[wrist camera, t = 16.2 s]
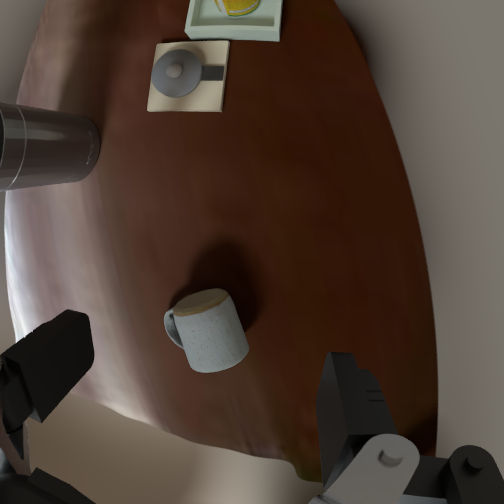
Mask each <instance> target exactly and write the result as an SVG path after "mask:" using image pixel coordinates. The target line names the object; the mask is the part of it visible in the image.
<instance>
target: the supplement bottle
mask: <svg viewBox="0 0 504 504" xmlns="http://www.w3.org/2000/svg"><path fill="white" fill-rule="evenodd" d="M214 1H215V4H216V6H217V8H218V10H219V11H220V12H221V13H222V14H223V15H225V16H227V17H231V18H242V17H246V16H249V15H251V14H253V13H254V12H255V11H256V10H257V9H258V8H259V6H260V0H214Z"/></svg>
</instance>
